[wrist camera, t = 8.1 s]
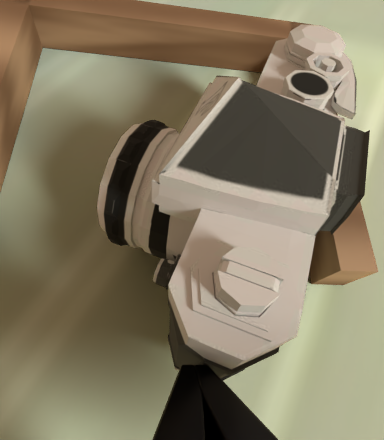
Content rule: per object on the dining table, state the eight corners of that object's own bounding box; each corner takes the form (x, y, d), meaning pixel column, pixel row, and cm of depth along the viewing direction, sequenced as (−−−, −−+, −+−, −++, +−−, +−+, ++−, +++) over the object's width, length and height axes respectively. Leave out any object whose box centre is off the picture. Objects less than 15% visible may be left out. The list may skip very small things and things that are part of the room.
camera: (192, 118, 22) (206, -60, 14) (308, 154, 21) (401, -16, 13) (71, 327, 14) (-72, 202, 6) (249, 404, 13) (401, 391, 5)
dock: (343, 284, 18) (378, 271, 15) (-67, 273, 15) (-114, 255, 13) (296, 59, 26) (314, 24, 23) (19, 26, 23) (3, -18, 20)
